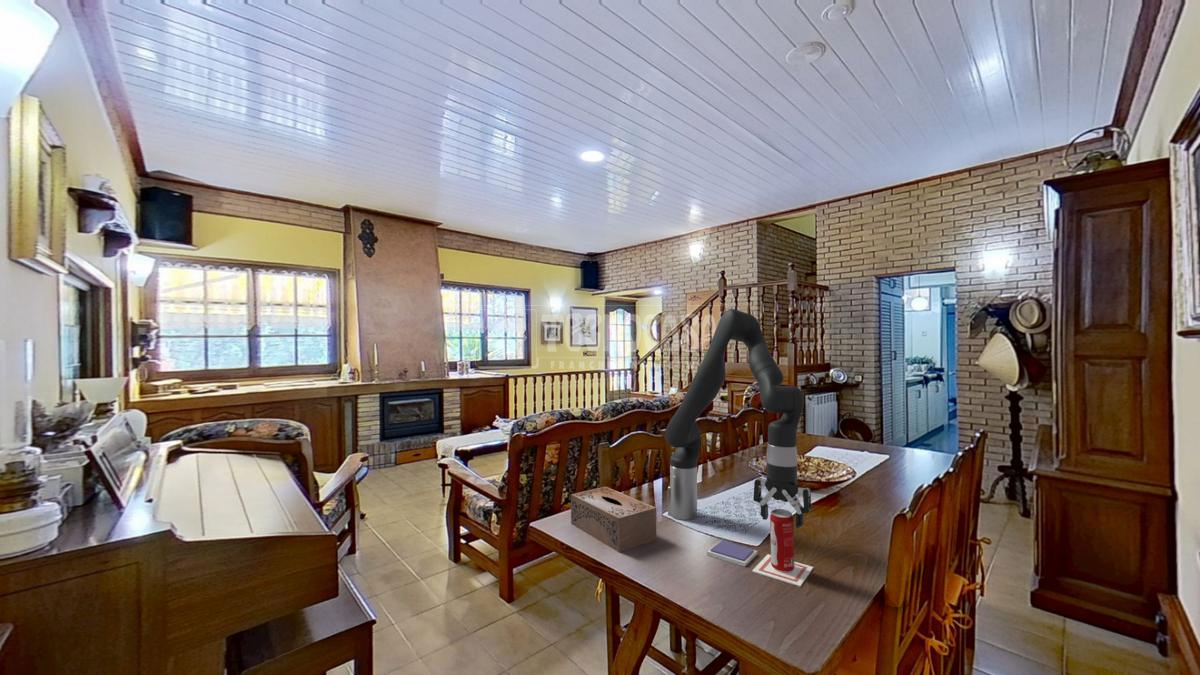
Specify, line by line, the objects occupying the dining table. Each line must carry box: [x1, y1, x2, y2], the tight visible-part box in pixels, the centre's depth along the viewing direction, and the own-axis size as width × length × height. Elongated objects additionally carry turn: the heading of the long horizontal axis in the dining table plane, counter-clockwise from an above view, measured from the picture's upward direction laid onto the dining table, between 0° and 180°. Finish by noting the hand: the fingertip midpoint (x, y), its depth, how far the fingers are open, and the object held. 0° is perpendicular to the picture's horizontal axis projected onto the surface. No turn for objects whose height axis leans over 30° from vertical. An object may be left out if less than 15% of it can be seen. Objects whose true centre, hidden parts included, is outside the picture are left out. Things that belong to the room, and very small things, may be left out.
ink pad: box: [706, 540, 758, 567], centre depth 131 cm, size 11×9×2 cm
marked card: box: [751, 553, 814, 588], centre depth 123 cm, size 12×12×1 cm
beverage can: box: [769, 508, 795, 573], centre depth 123 cm, size 6×6×15 cm
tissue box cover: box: [570, 486, 657, 553], centre depth 148 cm, size 26×14×10 cm, turn 36°
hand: (781, 522), depth 123 cm, fingers open, 8 cm apart
